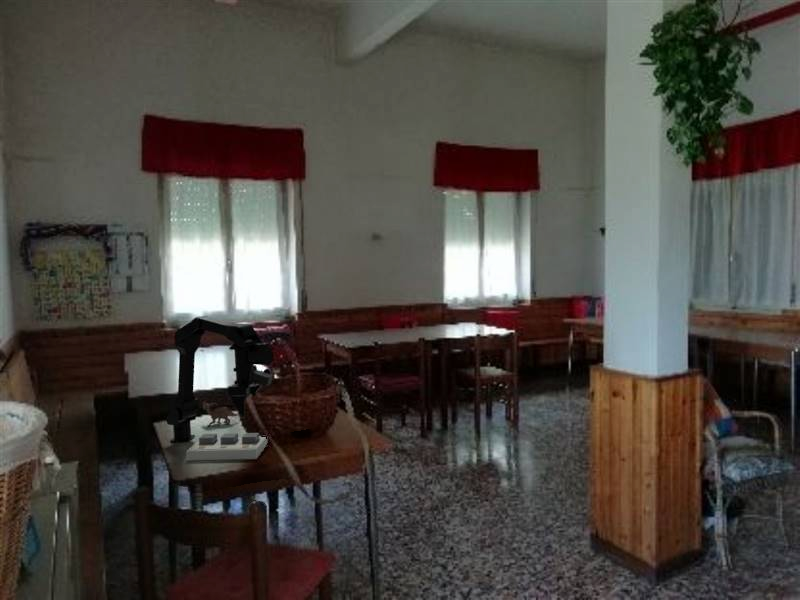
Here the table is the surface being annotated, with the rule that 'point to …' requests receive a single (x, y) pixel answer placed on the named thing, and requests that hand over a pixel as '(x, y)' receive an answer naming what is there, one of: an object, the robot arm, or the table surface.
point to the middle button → (229, 438)
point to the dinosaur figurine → (218, 412)
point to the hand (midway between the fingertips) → (247, 411)
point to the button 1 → (208, 439)
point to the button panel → (226, 450)
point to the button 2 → (250, 438)
